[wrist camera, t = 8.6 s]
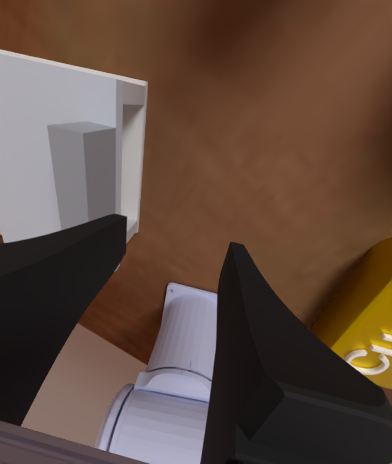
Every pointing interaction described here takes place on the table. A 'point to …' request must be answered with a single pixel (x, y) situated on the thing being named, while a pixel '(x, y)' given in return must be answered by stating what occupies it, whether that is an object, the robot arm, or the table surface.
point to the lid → (57, 147)
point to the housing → (123, 139)
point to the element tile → (363, 317)
